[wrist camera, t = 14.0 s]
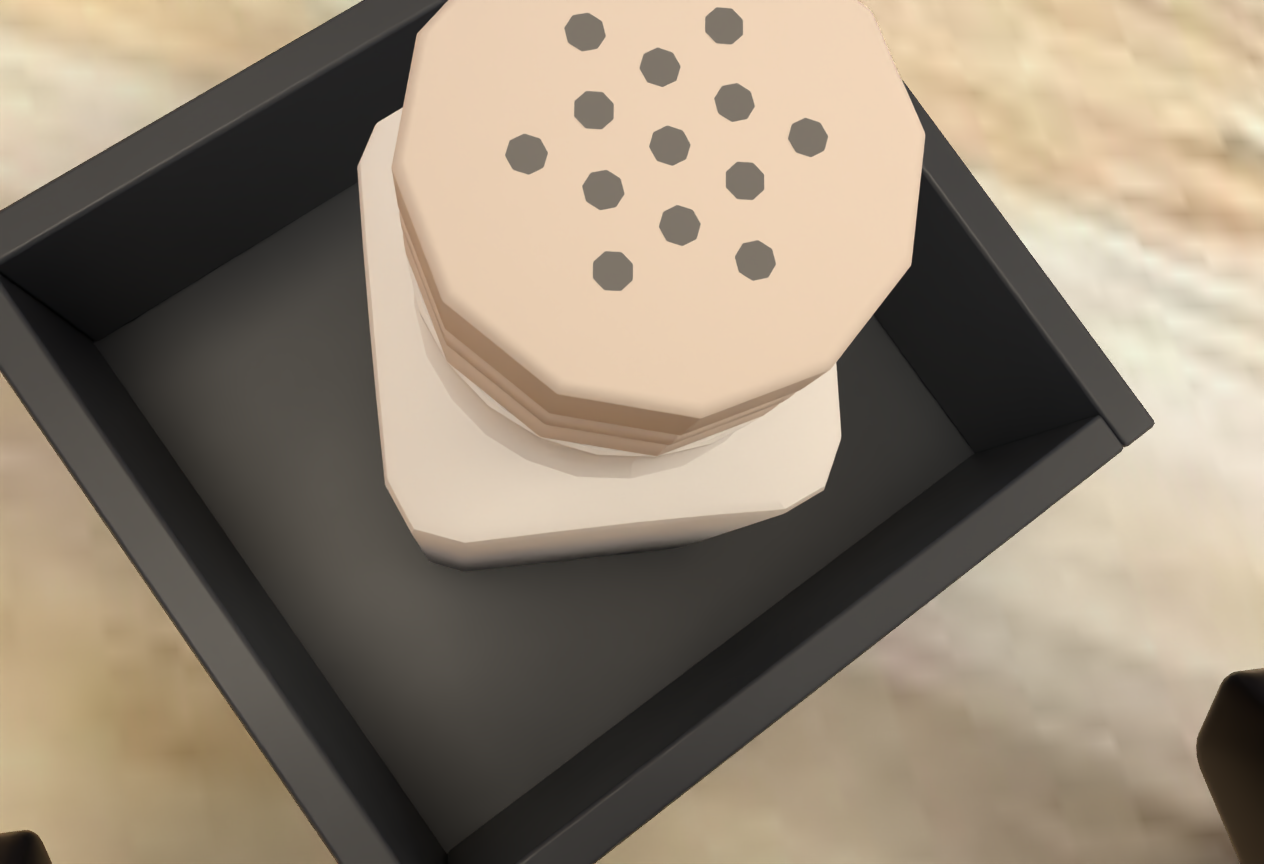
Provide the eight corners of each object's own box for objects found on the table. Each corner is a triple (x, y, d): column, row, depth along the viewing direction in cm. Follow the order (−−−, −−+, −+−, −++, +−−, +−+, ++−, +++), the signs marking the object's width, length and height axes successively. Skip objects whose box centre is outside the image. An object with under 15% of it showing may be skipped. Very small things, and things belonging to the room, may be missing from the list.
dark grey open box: (436, 901, 16) (427, 995, 12) (52, 343, 16) (-82, 254, 12) (1005, 465, 18) (1159, 424, 14) (649, -22, 18) (700, -197, 14)
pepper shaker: (680, 262, 17) (942, -174, 8) (715, 545, 16) (1044, 449, 7) (392, 284, 16) (291, -161, 7) (418, 578, 16) (350, 521, 6)
